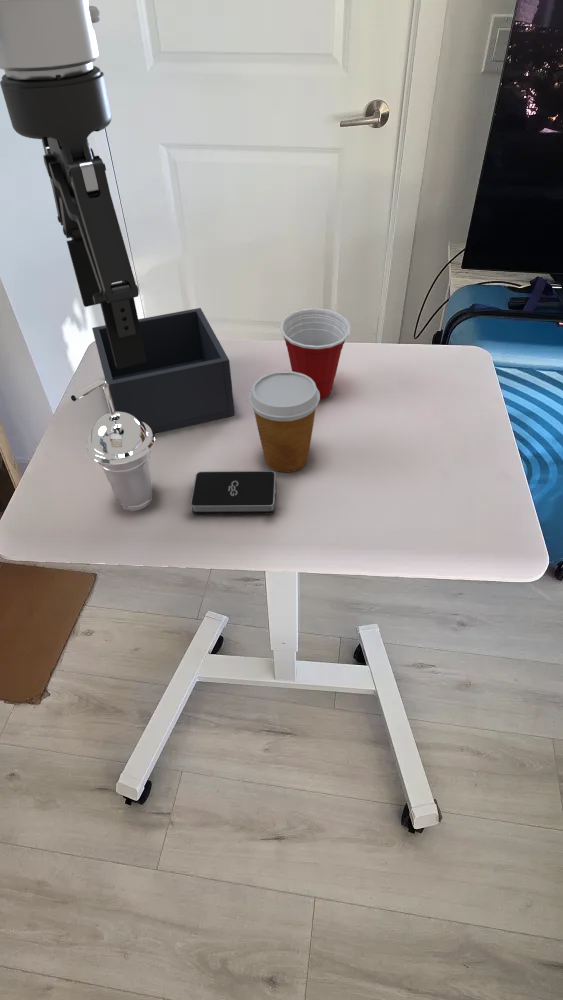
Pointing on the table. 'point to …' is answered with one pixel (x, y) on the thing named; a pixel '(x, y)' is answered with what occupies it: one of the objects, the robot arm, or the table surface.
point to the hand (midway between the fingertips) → (112, 331)
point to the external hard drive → (234, 492)
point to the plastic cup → (315, 344)
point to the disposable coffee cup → (285, 417)
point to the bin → (171, 373)
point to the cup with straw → (122, 451)
